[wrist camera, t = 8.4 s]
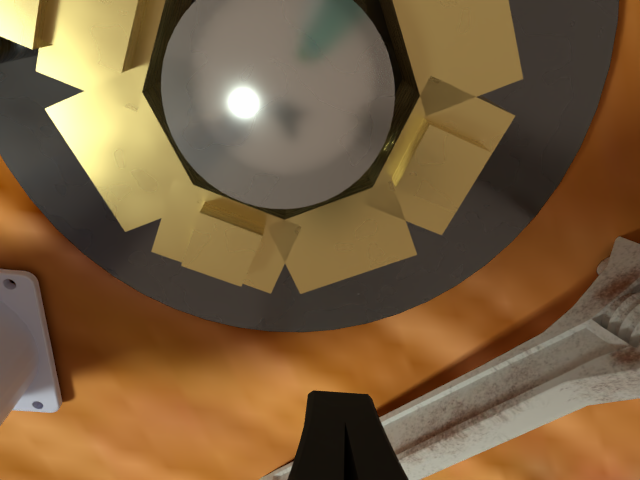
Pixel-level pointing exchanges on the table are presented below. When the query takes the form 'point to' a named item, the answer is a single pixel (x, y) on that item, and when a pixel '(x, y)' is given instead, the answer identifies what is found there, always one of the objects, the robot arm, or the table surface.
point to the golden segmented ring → (258, 222)
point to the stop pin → (14, 51)
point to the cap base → (314, 146)
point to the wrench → (529, 378)
